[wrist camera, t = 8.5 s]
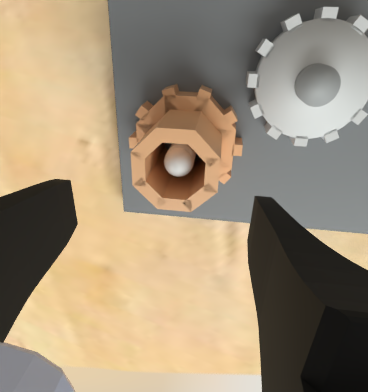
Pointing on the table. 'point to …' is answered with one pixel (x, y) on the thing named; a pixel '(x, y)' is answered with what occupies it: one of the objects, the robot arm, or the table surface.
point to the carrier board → (222, 68)
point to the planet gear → (183, 134)
